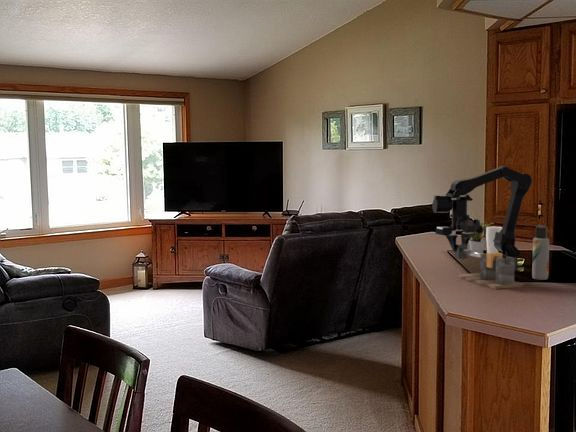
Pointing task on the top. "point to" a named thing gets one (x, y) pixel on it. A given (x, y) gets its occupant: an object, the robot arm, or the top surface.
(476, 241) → the house plant
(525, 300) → the top surface
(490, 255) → the spacer
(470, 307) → the top surface
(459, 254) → the shaft
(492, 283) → the shaft stand
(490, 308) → the top surface
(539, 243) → the lotion bottle
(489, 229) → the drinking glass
